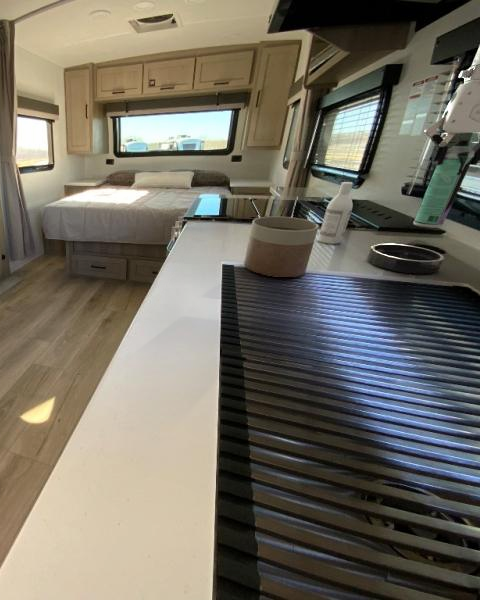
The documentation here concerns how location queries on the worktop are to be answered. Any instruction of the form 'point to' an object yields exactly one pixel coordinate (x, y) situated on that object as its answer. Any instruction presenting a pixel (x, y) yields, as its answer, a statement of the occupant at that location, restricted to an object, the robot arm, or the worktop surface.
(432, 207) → the spray can
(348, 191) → the bath foam
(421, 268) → the pan
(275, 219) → the planter
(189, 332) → the worktop surface
